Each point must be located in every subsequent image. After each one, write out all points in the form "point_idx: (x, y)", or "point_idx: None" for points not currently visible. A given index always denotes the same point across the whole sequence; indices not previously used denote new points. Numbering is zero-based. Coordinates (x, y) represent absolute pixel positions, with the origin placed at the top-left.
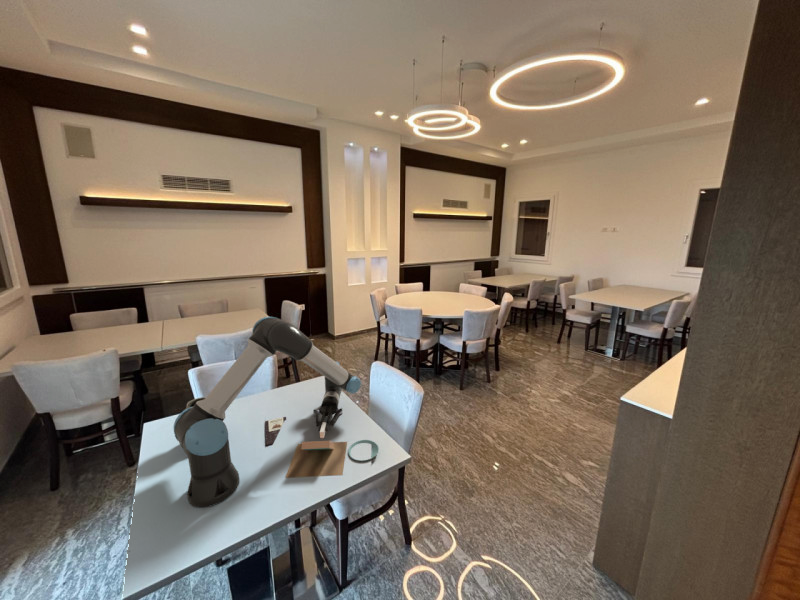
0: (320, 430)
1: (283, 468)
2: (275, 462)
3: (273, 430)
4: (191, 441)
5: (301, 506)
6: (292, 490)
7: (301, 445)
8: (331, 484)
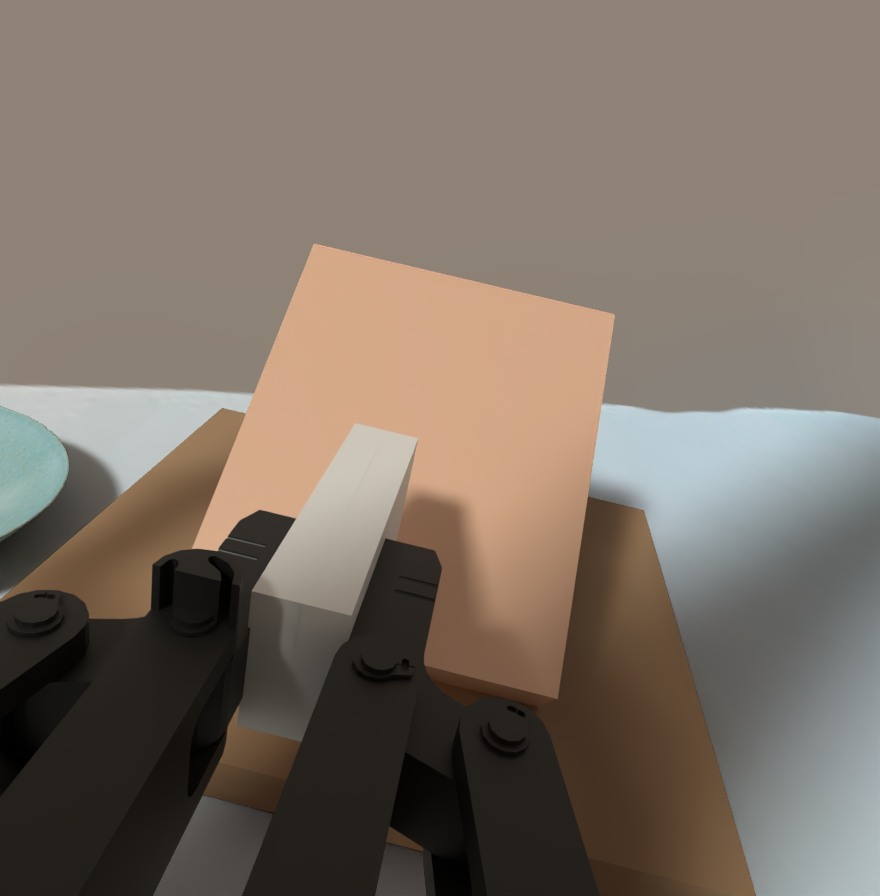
0: (406, 455)
1: (716, 628)
2: (853, 718)
3: None
4: None
5: None
6: None
7: (673, 836)
8: None
